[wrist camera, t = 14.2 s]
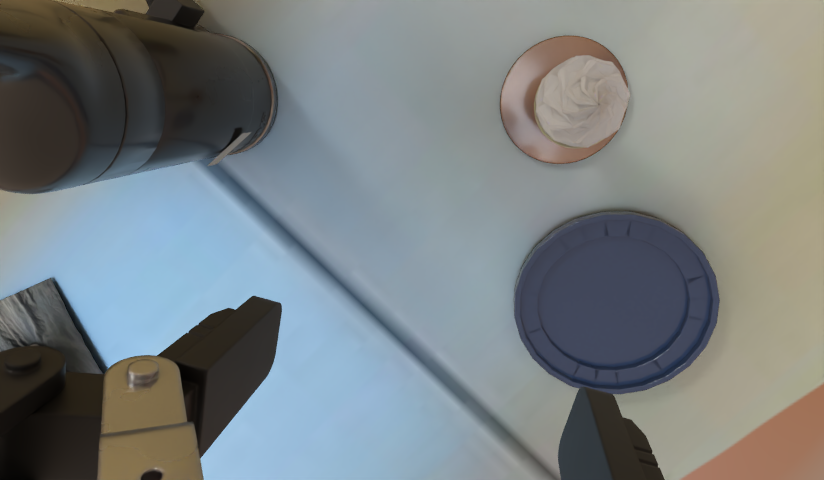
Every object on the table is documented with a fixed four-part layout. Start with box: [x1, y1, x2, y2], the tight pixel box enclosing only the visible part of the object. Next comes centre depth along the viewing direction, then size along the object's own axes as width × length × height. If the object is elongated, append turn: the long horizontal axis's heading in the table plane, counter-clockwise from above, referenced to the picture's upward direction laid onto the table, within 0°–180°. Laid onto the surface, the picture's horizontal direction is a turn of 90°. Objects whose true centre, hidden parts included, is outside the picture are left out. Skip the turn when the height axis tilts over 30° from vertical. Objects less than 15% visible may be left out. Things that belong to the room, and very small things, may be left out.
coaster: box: [500, 36, 628, 164], centre depth 37 cm, size 9×9×1 cm
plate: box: [514, 211, 720, 394], centre depth 40 cm, size 15×15×2 cm
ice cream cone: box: [534, 55, 630, 149], centre depth 30 cm, size 5×5×15 cm
